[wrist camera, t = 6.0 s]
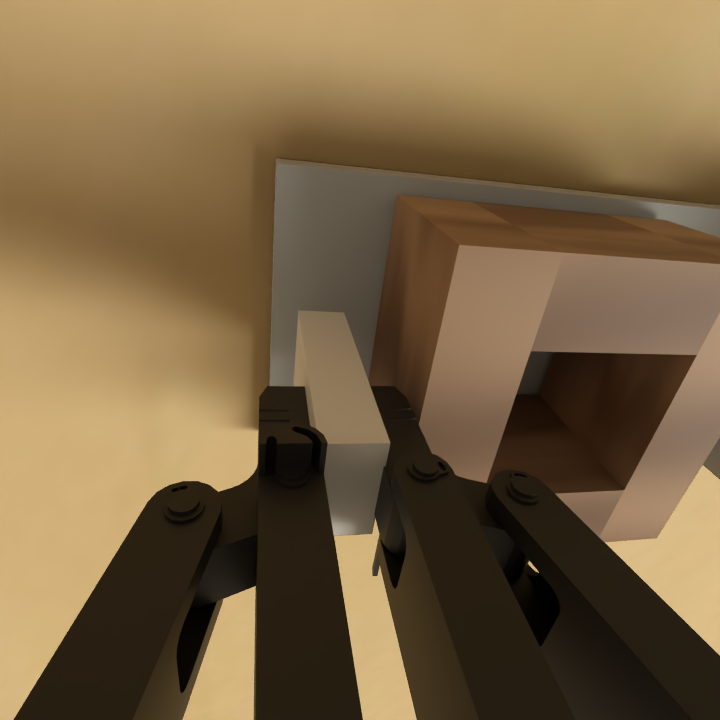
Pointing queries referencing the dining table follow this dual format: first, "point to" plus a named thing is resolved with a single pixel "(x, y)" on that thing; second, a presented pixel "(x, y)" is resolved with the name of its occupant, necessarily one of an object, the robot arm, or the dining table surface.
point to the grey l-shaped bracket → (371, 241)
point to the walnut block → (557, 350)
